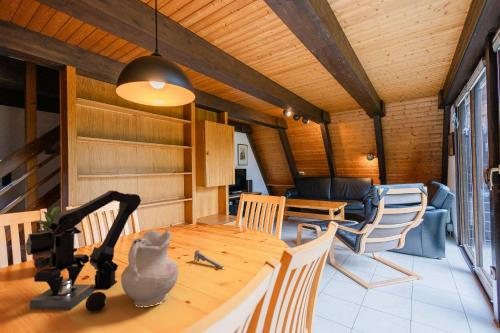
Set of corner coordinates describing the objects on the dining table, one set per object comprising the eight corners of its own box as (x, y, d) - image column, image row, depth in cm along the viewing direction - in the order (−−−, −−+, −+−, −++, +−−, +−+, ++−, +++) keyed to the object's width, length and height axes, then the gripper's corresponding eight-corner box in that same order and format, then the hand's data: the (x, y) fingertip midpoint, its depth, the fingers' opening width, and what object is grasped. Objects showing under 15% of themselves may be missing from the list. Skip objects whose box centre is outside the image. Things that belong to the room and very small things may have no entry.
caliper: (194, 261, 130) (194, 249, 130) (195, 260, 131) (195, 248, 131) (224, 270, 118) (224, 257, 118) (225, 269, 119) (225, 256, 119)
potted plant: (28, 279, 106) (29, 209, 106) (35, 267, 119) (36, 205, 119) (70, 272, 114) (71, 207, 114) (73, 261, 127) (74, 203, 127)
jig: (93, 292, 95) (93, 283, 96) (70, 310, 83) (70, 300, 84) (58, 291, 96) (58, 283, 96) (29, 309, 84) (29, 299, 84)
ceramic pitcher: (166, 321, 80) (174, 243, 80) (103, 318, 78) (111, 239, 79) (180, 289, 101) (185, 228, 102) (131, 286, 100) (137, 225, 100)
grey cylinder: (74, 297, 92) (74, 278, 92) (65, 303, 87) (65, 283, 88) (62, 297, 92) (62, 278, 92) (52, 303, 88) (52, 283, 88)
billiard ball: (89, 307, 85) (90, 289, 86) (108, 305, 87) (109, 287, 87) (82, 317, 80) (82, 298, 80) (102, 314, 81) (103, 296, 81)
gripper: (62, 239, 100) (62, 278, 99) (18, 256, 81) (17, 304, 81) (90, 240, 99) (89, 279, 99) (51, 256, 81) (50, 304, 80)
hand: (63, 290), depth 90 cm, fingers open, 7 cm apart
